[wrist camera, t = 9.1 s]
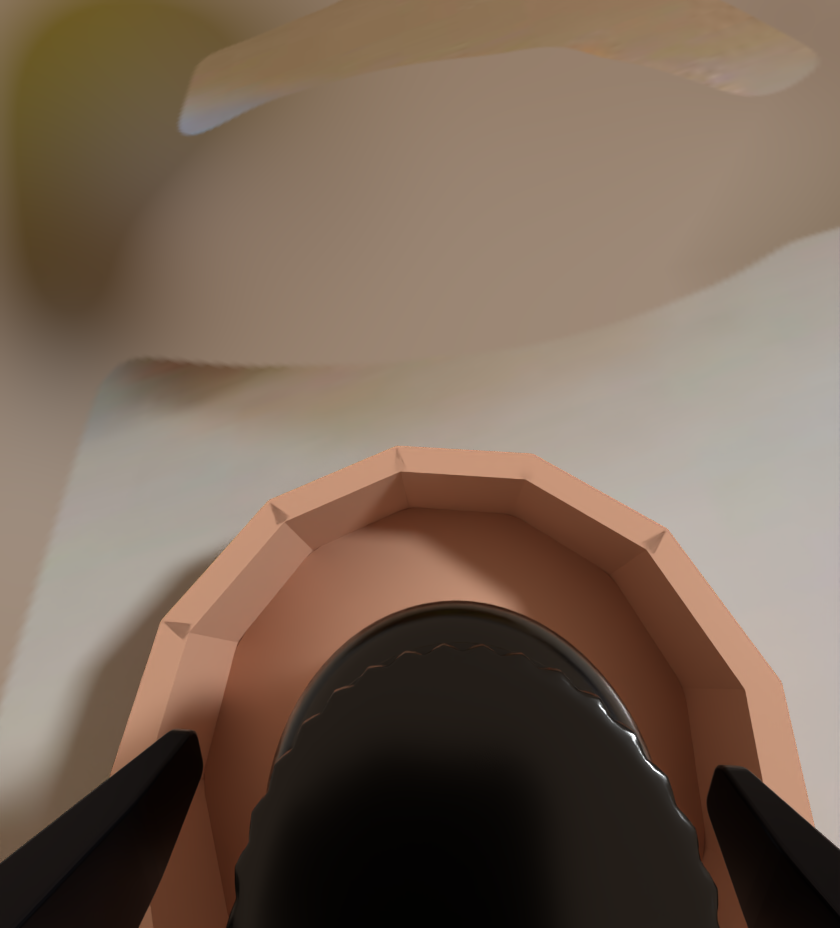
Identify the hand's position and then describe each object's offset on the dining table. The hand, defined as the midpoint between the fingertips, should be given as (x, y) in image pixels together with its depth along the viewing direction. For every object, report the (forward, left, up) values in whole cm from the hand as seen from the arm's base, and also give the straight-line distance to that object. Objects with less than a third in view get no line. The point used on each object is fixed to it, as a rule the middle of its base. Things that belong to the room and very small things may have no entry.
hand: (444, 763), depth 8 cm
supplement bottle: (0, -1, -8) cm, 9 cm away
